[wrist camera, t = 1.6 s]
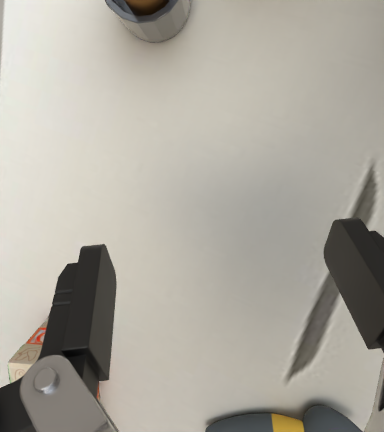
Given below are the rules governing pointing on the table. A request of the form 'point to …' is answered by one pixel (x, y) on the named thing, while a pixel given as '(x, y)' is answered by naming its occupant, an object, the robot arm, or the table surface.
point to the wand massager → (287, 422)
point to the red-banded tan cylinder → (145, 6)
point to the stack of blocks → (29, 355)
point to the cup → (153, 20)
